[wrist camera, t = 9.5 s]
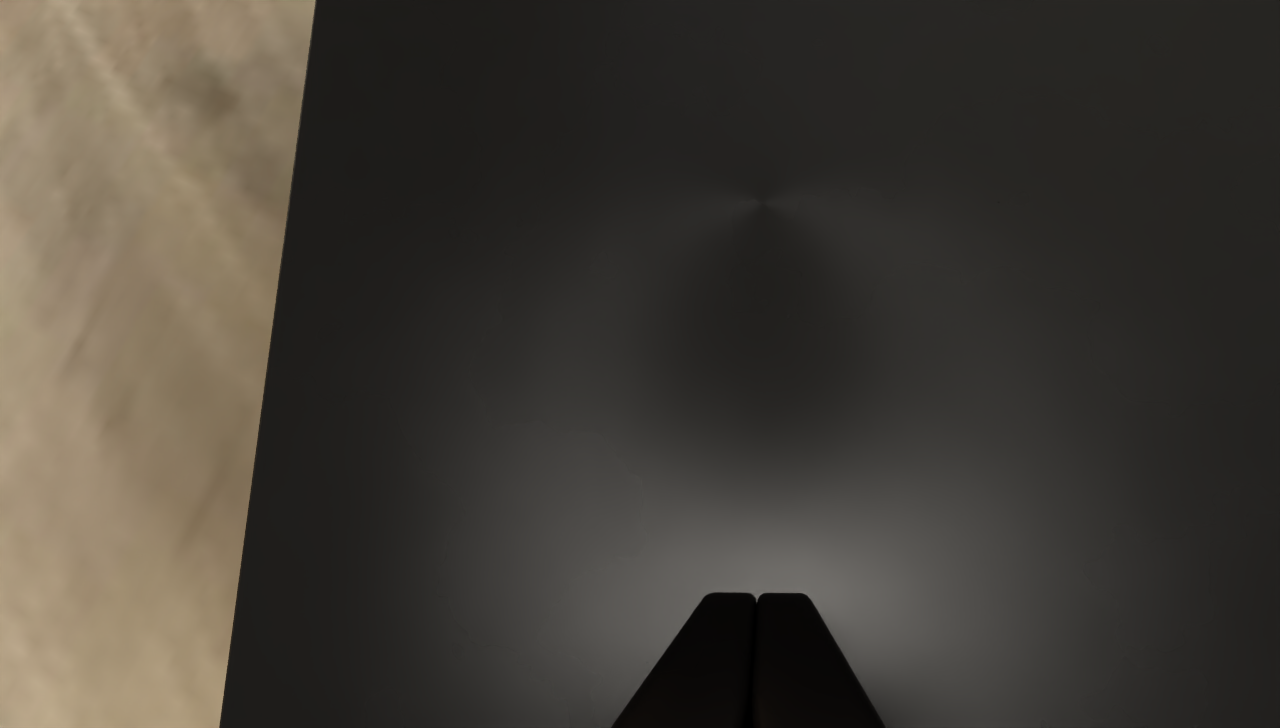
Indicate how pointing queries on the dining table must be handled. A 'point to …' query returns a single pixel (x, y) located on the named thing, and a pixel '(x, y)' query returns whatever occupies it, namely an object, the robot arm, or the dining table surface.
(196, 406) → the dining table surface
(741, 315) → the black square box lid
